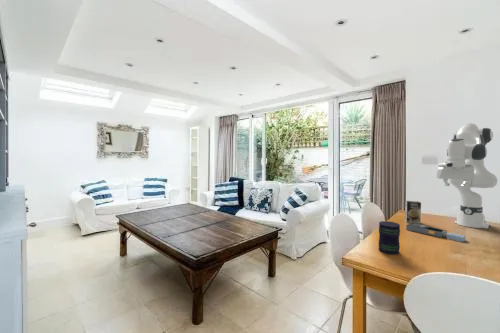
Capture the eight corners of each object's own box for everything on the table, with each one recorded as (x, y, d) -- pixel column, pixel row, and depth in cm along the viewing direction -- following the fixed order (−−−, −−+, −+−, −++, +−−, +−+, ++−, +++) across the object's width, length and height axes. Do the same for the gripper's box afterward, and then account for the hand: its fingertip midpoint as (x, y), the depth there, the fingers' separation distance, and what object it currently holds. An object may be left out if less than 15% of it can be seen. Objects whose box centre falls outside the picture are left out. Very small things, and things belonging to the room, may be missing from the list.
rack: (412, 227, 173) (412, 222, 172) (447, 235, 155) (447, 229, 155) (406, 229, 168) (406, 224, 168) (441, 238, 151) (441, 231, 151)
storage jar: (399, 256, 124) (400, 227, 123) (377, 252, 129) (378, 224, 128) (399, 250, 132) (400, 222, 131) (379, 246, 137) (379, 220, 137)
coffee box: (406, 222, 186) (407, 201, 185) (404, 220, 192) (405, 200, 191) (420, 223, 182) (421, 202, 181) (418, 221, 188) (419, 201, 187)
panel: (449, 237, 153) (450, 232, 153) (465, 241, 146) (465, 235, 146) (446, 238, 150) (446, 233, 150) (461, 242, 144) (462, 237, 144)
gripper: (469, 164, 155) (468, 186, 155) (435, 164, 157) (434, 185, 157) (478, 164, 149) (477, 187, 149) (442, 164, 151) (441, 186, 151)
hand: (455, 186), depth 153 cm, fingers open, 8 cm apart
